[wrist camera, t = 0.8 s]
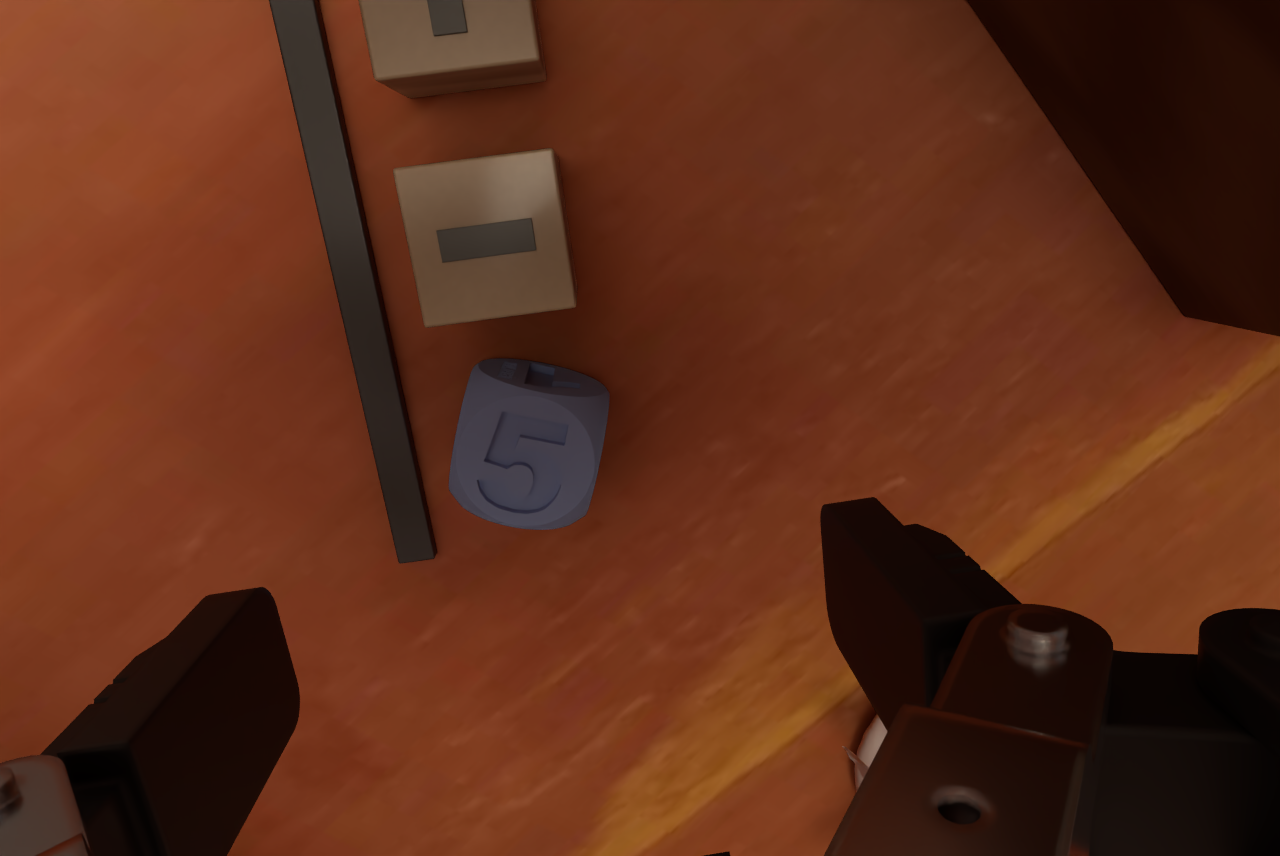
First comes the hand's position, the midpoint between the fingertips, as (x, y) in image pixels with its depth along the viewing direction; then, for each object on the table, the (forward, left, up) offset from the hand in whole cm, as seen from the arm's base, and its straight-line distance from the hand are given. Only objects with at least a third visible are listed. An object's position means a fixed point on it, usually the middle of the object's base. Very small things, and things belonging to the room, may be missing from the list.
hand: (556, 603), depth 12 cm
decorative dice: (+1, -1, -15) cm, 15 cm away
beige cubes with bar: (-4, -3, -15) cm, 16 cm away
